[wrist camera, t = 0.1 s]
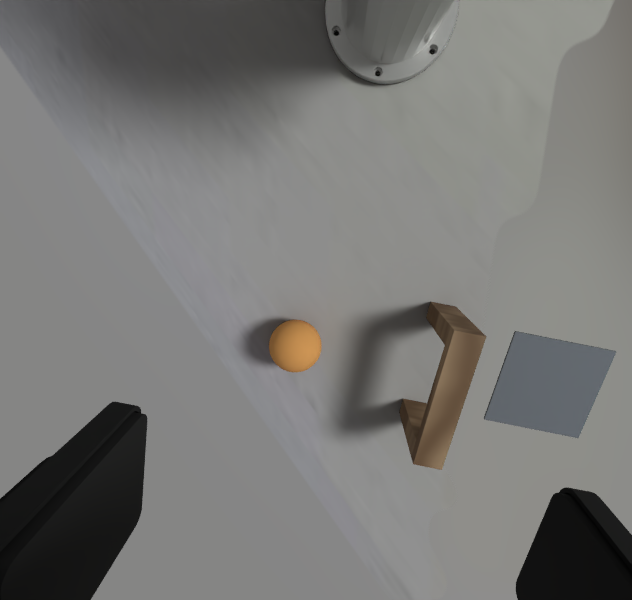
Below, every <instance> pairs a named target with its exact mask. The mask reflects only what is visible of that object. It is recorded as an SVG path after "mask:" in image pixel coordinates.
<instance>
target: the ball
mask: <svg viewBox="0 0 632 600" xmlns="http://www.w3.org/2000/svg"><path fill="white" fill-rule="evenodd" d="M269 351H270V355H271V357H272V359H273V361H274V362H275V363H276V364H277V365H278V366H279V367H280V368H282V369H283V370H286V371H289V372H301V371H305V370H307V369H309V368H310V367H311V366H313V365H314V364H315V362H316V361H317V360H318V358H319V356H320V352H321V339H320V336H319V334H318V332H317V331H316V329H315V328H314V327H313V326H312V325H310V324H309V323H307V322H305V321H301V320H289V321H286V322H284V323H282V324H280V325H279V326H278V327H277V328H276V329H275V330H274V332H273V333H272V335H271V338H270V342H269Z"/></svg>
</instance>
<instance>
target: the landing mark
mask: <svg viewBox="0 0 632 600" xmlns="http://www.w3.org/2000/svg"><path fill="white" fill-rule="evenodd" d="M615 353H616V351H613V350H608V349H602V348H598V347H593V346H588V345H583V344H577V343H573V342H568V341H562V340H557V339H552V338H547V337H542V336H537V335H532V334H527V333H522V332H517V331H515V332H514V335H513V338H512V341H511V343H510V346H509V349H508V352H507V355H506V358H505V360H504V363H503V366H502V369H501V371H500V374H499V377H498V380H497V383H496V386H495V388H494V391H493V394H492V397H491V400H490V402H489V405H488V408H487V411H486V414H485V416H484V419H486V420H490V421H495V422H500V423H505V424H510V425H515V426H520V427H525V428H530V429H535V430H541V431H545V432H550V433H555V434H561V435H565V436H571V437H575V438H578V437H579V435H580V433H581V431H582V429H583V426H584V424H585V422H586V419H587V417H588V415H589V412H590V410H591V408H592V406H593V404H594V401H595V399H596V397H597V395H598V392H599V390H600V388H601V385H602V383H603V381H604V379H605V376H606V374H607V372H608V370H609V367H610V365H611V363H612V361H613V358H614V356H615Z"/></svg>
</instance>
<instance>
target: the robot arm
mask: <svg viewBox="0 0 632 600" xmlns="http://www.w3.org/2000/svg"><path fill="white" fill-rule="evenodd" d="M458 12H459V0H326V4H325V20H326V26H327V32H328V36H329V39H330V42H331V45H332V48H333V49H334V51H335V53H336V55H337V56H338V58H339V59H340V61H341V62H342V63H343V64H344V65H345V67H346V68H347V69H349V70H350V71H351V72H353V73H354V74H355V75H356V76H358V77H360V78H362V79H364V80H366V81H370V82H374V83H378V84H393V83H399V82H403V81H406V80H408V79H411V78H413V77H415V76H417V75H418V74H420V73H422V72H423V71H425V70H426V69H427V68H428V67H429V66H430V65H431V64H432V63H433V62H434V61H435V60H436V59H437V58H438V57H439V55H440V54H441V53H442V51H443V50H444V48H445V47H446V45H447V43H448V42H449V40H450V38H451V35H452V33H453V31H454V28H455V25H456V21H457V17H458ZM335 32H338V33H339V35H338V36H334V33H335ZM430 50H433V52H434V54H433V55H432V54H430V53H429V51H430ZM376 72H379V73H380V76H376V75H375V73H376ZM146 432H147V416H146V415H145V414H141V409H140V407H138V406H135V405H129V404H124V403H119V402H112V403H110V404H109V405H108V406H107V407H106V408H104V409H103V410H102V411H101V412H100V413H99V414H98V415H97V416H96V417H95V418H93V419H92V420H91V421H90V422H89V423H88V424H87V425H86V426H85V427H84V428H83V429H81V430H80V431H79V432H78V433H77V434H76V435H75V436H74V437H73V438H72V439H70V440H69V441H68V442H67V443H66V444H65V445H64V446H63V447H62V448H61V449H59V450H58V451H57V452H56V453H55V454H54V455H53V456H51V457H48V458H46V459H45V460H44V461H42V462H41V463H40V464H39V465H37V467H35V468H34V469H33V470H32V471H31V472H30V473H29V474H28V475H26V476H25V477H24V478H23V479H22V480H21V481H20V482H19V483H17V484H16V485H15V486H14V487H13V488H12V489H11V490H10V491H9V492H7V493H6V494H5V496H3V497H2V498H1V499H0V600H91V598H92V597H93V595H94V593H95V592H96V590H97V588H98V587H99V585H100V584H101V582H102V580H103V579H104V577H105V575H106V574H107V572H108V571H109V569H110V567H111V566H112V564H113V562H114V561H115V559H116V557H117V556H118V554H119V552H120V551H121V549H122V548H123V546H124V544H125V543H126V541H127V539H128V538H129V536H130V535H131V533H132V531H133V530H134V528H135V526H136V525H137V522H138V520H139V517H140V514H141V510H142V496H143V479H144V464H145V447H146ZM516 594H517V598H518V600H632V535H631V534H630V533H629V531H628V530H627V529H626V528H625V527H624V526H623V524H622V523H621V522H620V521H619V520H618V518H617V517H616V516H615V515H614V514H613V513H612V512H611V510H610V509H609V508H608V507H607V506H606V504H605V503H604V502H603V501H602V500H601V499H600V498H599V497H598V496H597V495H596V494H595V493H592V492H588V491H583V490H577V489H572V488H563V489H562V490H560V492H559V493H555V494H554V495H553V496H552V498H551V500H550V503H549V505H548V508H547V510H546V512H545V515H544V517H543V519H542V522H541V524H540V527H539V529H538V531H537V534H536V536H535V539H534V541H533V543H532V545H531V548H530V550H529V553H528V555H527V557H526V560H525V562H524V564H523V567H522V569H521V571H520V574H519V576H518V579H517V582H516Z"/></svg>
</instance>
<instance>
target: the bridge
mask: <svg viewBox="0 0 632 600" xmlns="http://www.w3.org/2000/svg"><path fill="white" fill-rule="evenodd" d="M426 318H427V320H428V321H429V323H430V324H431V325H432V327H433V328H434V330H435V331H436V333H437V334H438V336H439V337H440V339H441V340H442V341H443V343H444V344H445V347H444V350H443V353H442V357H441V360H440V363H439V367H438V370H437V373H436V376H435V380H434V383H433V386H432V390H431V393H430V396H429V399H428V403H422V402H417V401H412V400H407V399H403V401H402V405H401V408H400V412H399V413H400V417H401V421H402V424H403V428H404V432H405V435H406V439H407V443H408V447H409V450H410V454H411V458H412V461H413V464H416V465H420V466H425V467H430V468H435V469H440V470H442V468H443V465H444V461H445V459H446V455H447V452H448V450H449V447H450V444H451V441H452V438H453V435H454V432H455V429H456V426H457V423H458V420H459V417H460V414H461V410H462V408H463V405H464V401H465V399H466V396H467V393H468V390H469V387H470V384H471V381H472V378H473V375H474V372H475V369H476V366H477V363H478V360H479V357H480V354H481V351H482V348H483V345H484V342H485V339H486V336H485V335H484V334H483V333H482V332H481V331H480V330H479V329H478V328H477V327H476V326H475V325H474V324H473V323H472V322H471V321H470V320H469V319H468V318H467V317H466V316H465V315H464V314H463V313H462V312H461V311H460V310H459V309H458V308H457V307H455V306H450V305H444V304H439V303H434V302H430V306H429V309H428V313H427V316H426Z"/></svg>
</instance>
